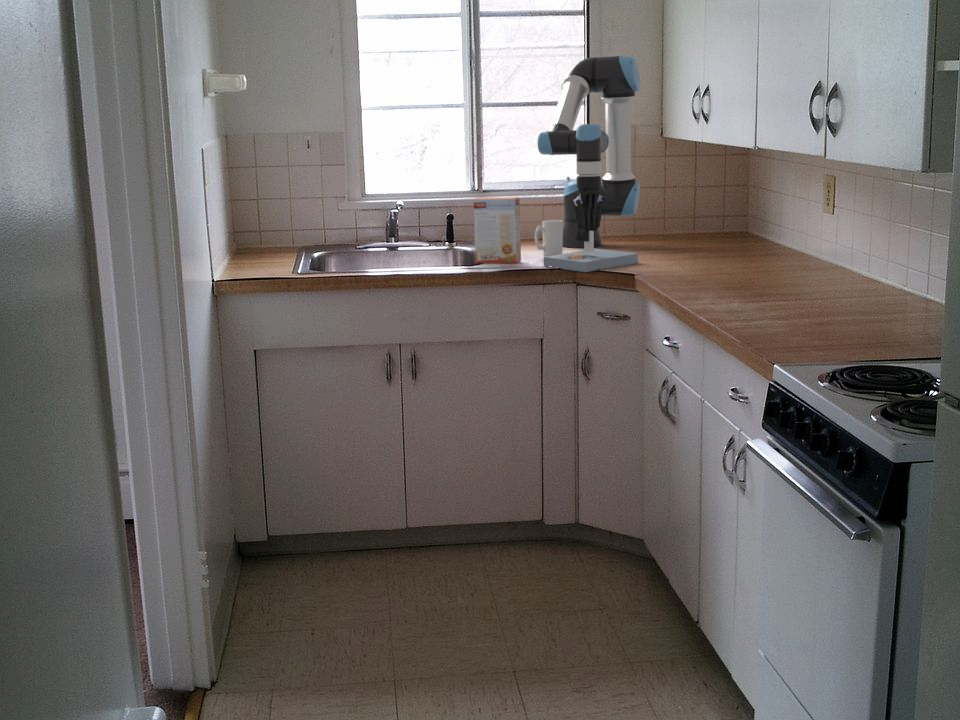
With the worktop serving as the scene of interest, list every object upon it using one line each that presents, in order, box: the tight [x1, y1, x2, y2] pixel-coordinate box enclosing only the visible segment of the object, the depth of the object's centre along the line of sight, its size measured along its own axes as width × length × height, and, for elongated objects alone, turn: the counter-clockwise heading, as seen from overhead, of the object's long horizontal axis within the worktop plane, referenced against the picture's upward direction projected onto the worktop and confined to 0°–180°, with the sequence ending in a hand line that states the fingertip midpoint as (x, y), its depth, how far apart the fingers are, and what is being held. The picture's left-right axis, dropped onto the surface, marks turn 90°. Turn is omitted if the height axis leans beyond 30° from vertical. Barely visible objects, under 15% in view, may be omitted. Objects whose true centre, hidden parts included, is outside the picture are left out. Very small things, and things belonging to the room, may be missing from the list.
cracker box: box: [473, 196, 522, 265], centre depth 336 cm, size 14×6×21 cm, turn 72°
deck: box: [543, 248, 639, 273], centre depth 328 cm, size 24×18×3 cm
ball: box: [571, 254, 583, 259], centre depth 324 cm, size 4×4×4 cm
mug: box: [534, 219, 564, 258], centre depth 345 cm, size 10×7×12 cm, turn 113°
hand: (588, 251), depth 327 cm, fingers closed
